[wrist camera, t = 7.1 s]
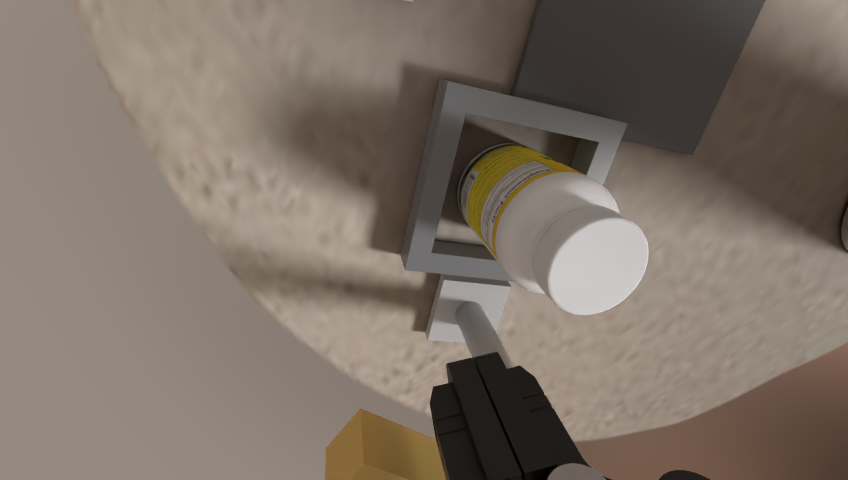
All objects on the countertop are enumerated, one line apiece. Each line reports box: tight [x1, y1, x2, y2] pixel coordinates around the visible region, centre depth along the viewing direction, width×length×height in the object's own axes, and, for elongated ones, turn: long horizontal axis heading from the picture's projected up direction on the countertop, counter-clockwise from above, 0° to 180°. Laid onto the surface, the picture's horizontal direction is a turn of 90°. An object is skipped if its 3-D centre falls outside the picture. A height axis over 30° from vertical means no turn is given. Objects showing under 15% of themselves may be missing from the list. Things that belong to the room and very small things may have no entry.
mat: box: [511, 0, 765, 155], centre depth 21 cm, size 12×12×1 cm
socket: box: [401, 78, 628, 369], centre depth 19 cm, size 10×15×13 cm, turn 167°
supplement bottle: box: [457, 143, 649, 315], centre depth 19 cm, size 5×5×10 cm
